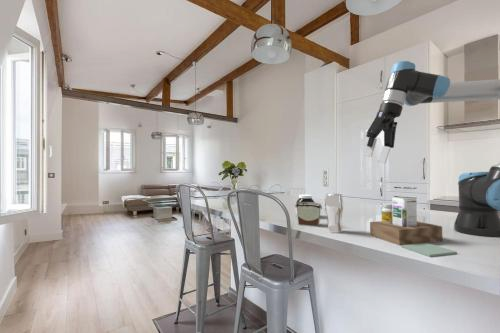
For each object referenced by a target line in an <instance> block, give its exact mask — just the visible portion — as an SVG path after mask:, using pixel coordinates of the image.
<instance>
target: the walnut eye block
mask: <svg viewBox="0 0 500 333" xmlns="http://www.w3.org/2000/svg"><path fill="white" fill-rule="evenodd" d="M369 234H370V236H372V237H374V238H377V239H380V240H383V241H386V242H389V243H391V244H395V245H397V246H402V245H410V244H420V243H436V242H443V226H442V225H438V224H433V223H428V222H424V221H419V220H417V226H411V227H402V226H398V225H394V224H393V221H382V220H381V221H380V220H379V221H370V222H369Z"/></svg>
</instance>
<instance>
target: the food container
mask: <svg viewBox="0 0 500 333" xmlns="http://www.w3.org/2000/svg"><path fill="white" fill-rule="evenodd" d="M296 207H297V214H296V216H297V223H298V225H299V226H307V227H316V228H319V227H320V220H321V218H320V217H321V210H322V209H323V207H322V204H321V203H320V202H316V201H314V202H298V203H295V205H294V208H296Z"/></svg>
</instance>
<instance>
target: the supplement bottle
mask: <svg viewBox="0 0 500 333" xmlns="http://www.w3.org/2000/svg"><path fill="white" fill-rule="evenodd" d="M382 207H383V208H382V209H381V221H393V214H392V203H383V204H382Z"/></svg>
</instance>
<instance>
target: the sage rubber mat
mask: <svg viewBox="0 0 500 333" xmlns="http://www.w3.org/2000/svg"><path fill="white" fill-rule="evenodd" d="M401 248H403V249H406V250H409V251H412V252H414V253H418V254H420V255H423V256H425V257H429V258H432V257H439V256H448V255H449V256H450V255H456V254H458V252H457V251H456V250H453V249H449V248H445V247H442V246H439V245H436V244H432V243H430V242H427V243H417V244H407V245H401Z"/></svg>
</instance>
